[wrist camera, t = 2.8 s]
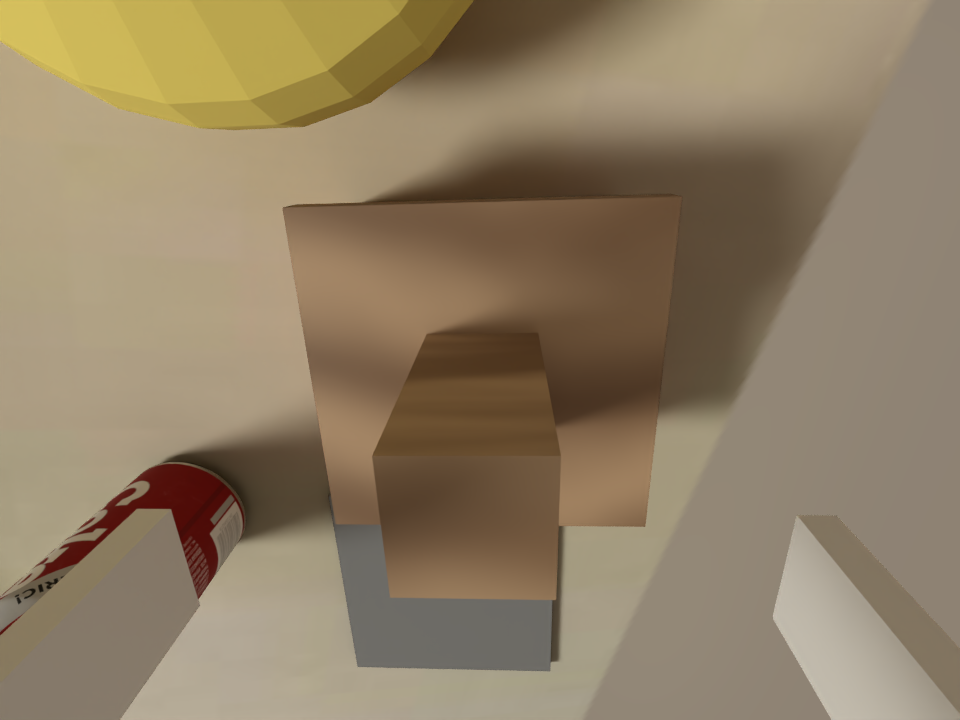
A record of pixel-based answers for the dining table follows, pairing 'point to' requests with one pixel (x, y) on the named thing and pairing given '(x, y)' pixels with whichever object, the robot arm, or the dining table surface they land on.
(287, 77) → the vase
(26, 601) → the soda can
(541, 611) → the mat
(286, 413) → the dining table surface
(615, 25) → the dining table surface
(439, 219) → the lid
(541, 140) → the dining table surface
